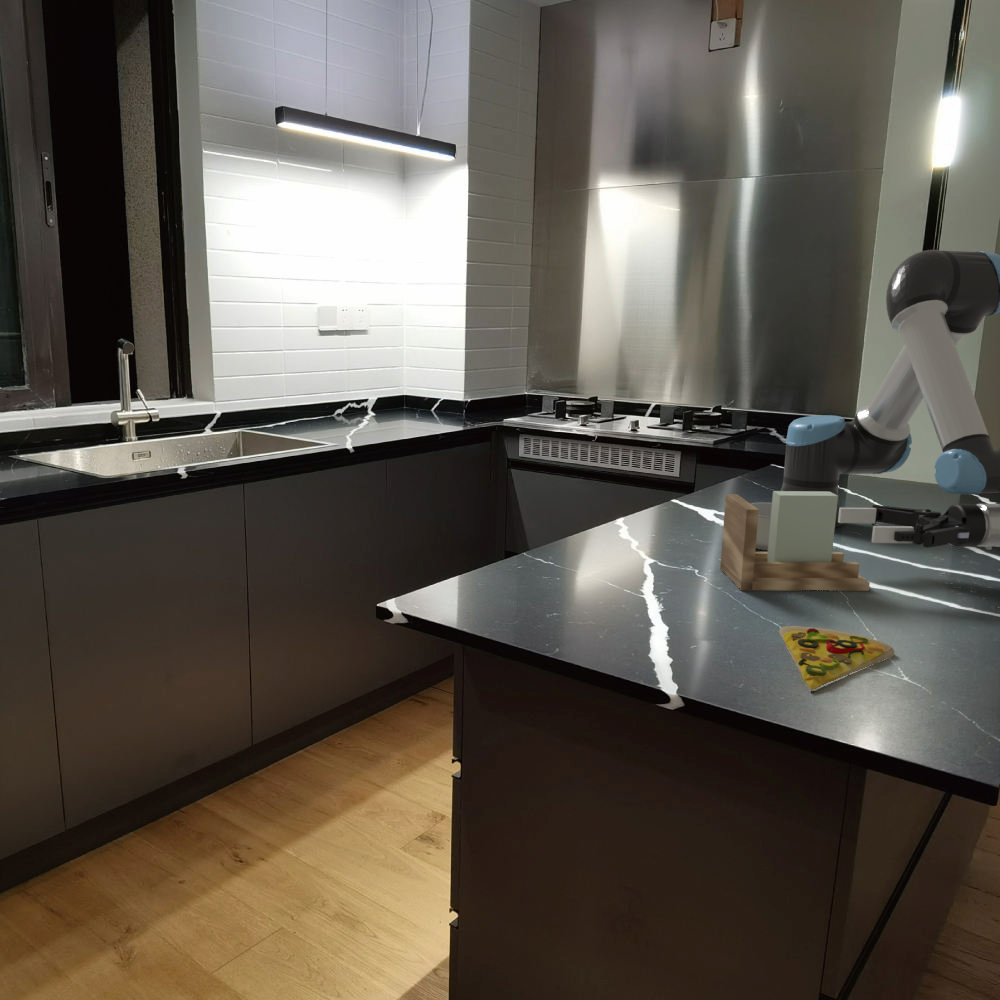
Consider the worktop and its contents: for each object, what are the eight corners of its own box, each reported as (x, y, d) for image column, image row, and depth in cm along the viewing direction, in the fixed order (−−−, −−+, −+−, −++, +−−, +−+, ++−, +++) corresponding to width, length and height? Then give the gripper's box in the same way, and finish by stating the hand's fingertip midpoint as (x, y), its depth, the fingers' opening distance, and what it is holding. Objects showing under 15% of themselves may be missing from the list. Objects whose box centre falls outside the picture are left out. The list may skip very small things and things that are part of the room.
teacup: (799, 544, 175) (803, 505, 173) (793, 557, 166) (796, 517, 164) (729, 535, 181) (732, 498, 179) (719, 548, 171) (722, 509, 170)
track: (839, 569, 158) (847, 495, 155) (868, 590, 146) (877, 510, 143) (720, 569, 157) (725, 494, 154) (740, 590, 146) (746, 509, 143)
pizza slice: (894, 655, 121) (897, 635, 120) (876, 713, 103) (879, 690, 103) (781, 634, 128) (783, 615, 128) (746, 684, 111) (747, 662, 110)
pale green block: (821, 568, 153) (829, 491, 150) (829, 574, 150) (838, 495, 147) (766, 568, 153) (773, 491, 150) (773, 574, 150) (780, 495, 147)
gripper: (1016, 567, 139) (886, 566, 139) (935, 528, 164) (825, 527, 163) (1023, 521, 138) (891, 520, 137) (940, 489, 162) (829, 488, 161)
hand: (855, 524), depth 150 cm, fingers open, 13 cm apart
